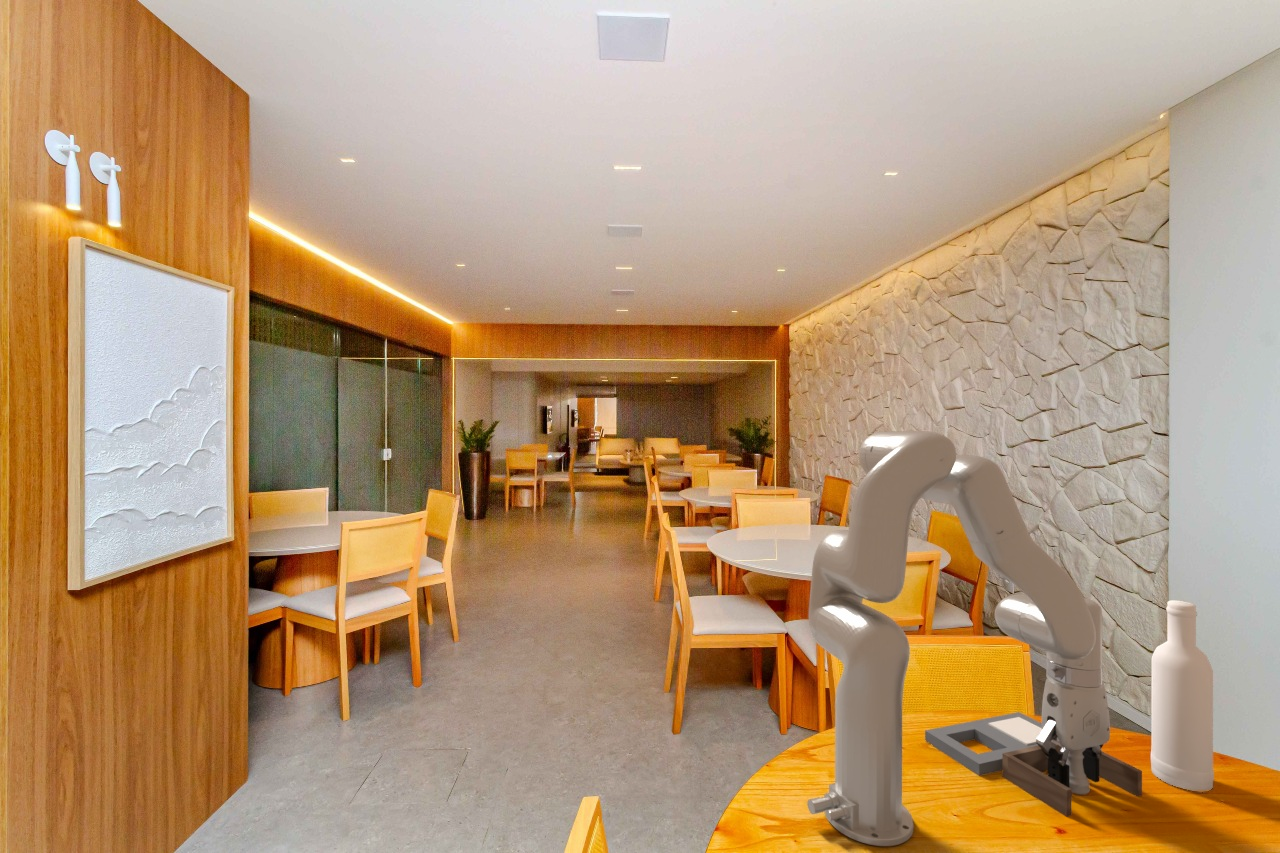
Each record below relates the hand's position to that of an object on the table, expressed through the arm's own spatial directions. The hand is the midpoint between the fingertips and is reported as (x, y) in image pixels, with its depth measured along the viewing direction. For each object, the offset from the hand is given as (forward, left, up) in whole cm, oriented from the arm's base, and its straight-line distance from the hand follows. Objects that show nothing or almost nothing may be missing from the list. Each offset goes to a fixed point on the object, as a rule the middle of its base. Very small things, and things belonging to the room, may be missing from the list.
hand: (1073, 780), depth 99 cm
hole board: (0, +14, -1) cm, 14 cm away
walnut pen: (0, 0, -1) cm, 1 cm away
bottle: (+20, -4, -1) cm, 20 cm away
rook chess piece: (0, 0, -1) cm, 1 cm away
